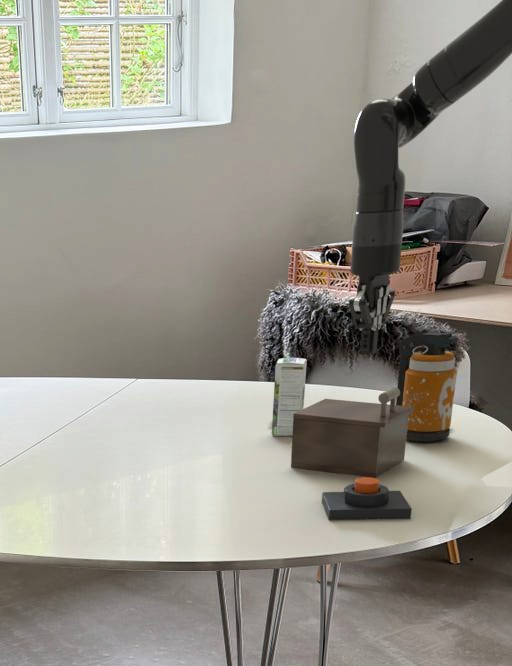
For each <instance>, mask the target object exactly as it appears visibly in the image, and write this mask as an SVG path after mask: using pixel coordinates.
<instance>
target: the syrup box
mask: <svg viewBox="0 0 512 666" xmlns="http://www.w3.org/2000/svg"><path fill="white" fill-rule="evenodd" d="M307 361H308V359H306V358H302V357H284V358H278V359H277V361H276V364H275V369H274V370H275V371H274V384H273V385H274V387H273V402H272V403H273V405H272V421H271V423H272V424H271V436H272V437H276V436H277V437H281V436H282V437H292V435H293V414H294V413H296V412H298V411H300V410H302V409H304V405H305V392H306V379H307V377H306V376H307Z"/></svg>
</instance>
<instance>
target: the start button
mask: <svg viewBox="0 0 512 666" xmlns="http://www.w3.org/2000/svg"><path fill="white" fill-rule="evenodd" d="M354 484H355V487H354V491H356V492H359V493H375V492H379V484H380V479H378V478H371V477H362V476H361V477H357V478H355V480H354Z"/></svg>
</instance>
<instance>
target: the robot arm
mask: <svg viewBox="0 0 512 666" xmlns="http://www.w3.org/2000/svg"><path fill="white" fill-rule="evenodd" d="M511 55H512V0H500V1H499V2H498V3H497V4H496V5H495V6H494V7H493V8H492V9H490V10H489V11H488V12H486V13H485V14H484V15H483V16H482V17H481V18H479V19H478V20H477V21H476V22H475V23H472V25H471V26H470V27H468V28H467V29H465V31H463V32H462V33H461V34H460V35H458V36H457V37H456V38H454V40H452V41H451V42H450V43H448V44H447V45H446V46H445V47H444V48H442V49H440V51H439V52H437V53H436V54H435V55H434V56H432V57H431V58H430V59H429V60H428V61H426V62H425V63H424V64H423V65H422V66H421V67H419V69H418V70H417V71H416V73H415V74H414V76H413V80H412V82H411V83H409V85H407V86H406V87H405V88H403V89H402V91H400V92H399V93H397V94H396V95H395V96H393V97H392V98H378V99H374V100H372V101H370V102H369V103H367V104H366V105H365V106H364V107H363V109H362V110H361V111H360V112H359V114H358V117H357V120H356V123H355V127H354V133H353V150H354V159H355V169H356V175H357V180H358V181H357V182H358V183H357V184H358V185H357V195H356V206H355V208H356V209H355V218H354V223H353V227H352V228H353V229H352V242H351V243H352V245H351V257H350V271H349V272H350V274H351V275H353V276H358V281H357V282H358V283H357V287H356V297H355V298H350V299H349V301H348V307H349V311H350V314H351V317H352V320H353V324H354V328H355V329H359V331H361V336H360V337H361V338H360V348H359V349H360V350H359V353H360V354H361V355H368V356H369V355H373V354H375V353H377V351H378V339H379V330H380V329H382V328H381V327H382V325H385V324H386V321H387V319H388V316H389V313H390V311H391V307H392V304H393V302H394V299H395V296H396V290H395V289H392V290H391V286H390V283H391V279H390V275H395V274H397V273H398V272H399V271H400V269H401V259H402V257H401V256H402V248H403V246H402V245H403V235H404V203H405V193H406V175H405V172H404V171H403V170H402V169H401V168H400V166H399V165H400V164H399V149H400V148H403V147H405V146H406V145H407V144H409V143H411V142H412V141H413V140H414V139H415V138H417V137H418V136H419V135H420V134H421V133H423V131H424V130H425V129H426V128H428V126H430V124H431V123H433V122H434V121H435V120H436V119H437V118H438V117H439V116H440V114H442V112H444V111H445V110H446V109H448V108H450V107H451V106H452V105H454V104H455V103H456V102H458V101H459V100H460V99H462V98H463V97H464V96H466V95H467V94H468V93H469V92H471V91H472V90H473V89H475V88H476V87H478V86H479V85H480V84H481V83H483V81H485V80H486V79H487V78H489V77H490V76H491V75H492V74H493V73H494V72H495V71H496V70H497V69H498V68H499V67H500V66H501V65H503V64H504V63H505V61H506V60H508V59H509V57H510V56H511Z"/></svg>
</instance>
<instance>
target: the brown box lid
mask: <svg viewBox="0 0 512 666" xmlns="http://www.w3.org/2000/svg"><path fill="white" fill-rule="evenodd" d="M399 395H400V390H399V389H398V388H397V386H393V387H391V388H390V389H387V390H386V391H384V392H382V393H380V394H379V395H378V402H379V403H376V402H365V401H353V400H352V401H351V400H344V399H333V398H324V399H321V400H320V401H317V402H315V403H313V404H311V405H309V406H307V407H305V408H303V409H302V410H300V411H298V412H296V413H294V414H293V418H298V419H308V420H317V421H326V422H336V423H345V424H354V425H364V426H373V427H382V428H385V427H387V426H389V425H390V424H392V423H394V422H396V421H397V420H399V419H401V418H403V417H405V416H406V415H408V414H410V413H412V412H413V411H414V407H410V406H399V405H396V398H397V397H398V396H399ZM389 402H390V404H387V403H389Z"/></svg>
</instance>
